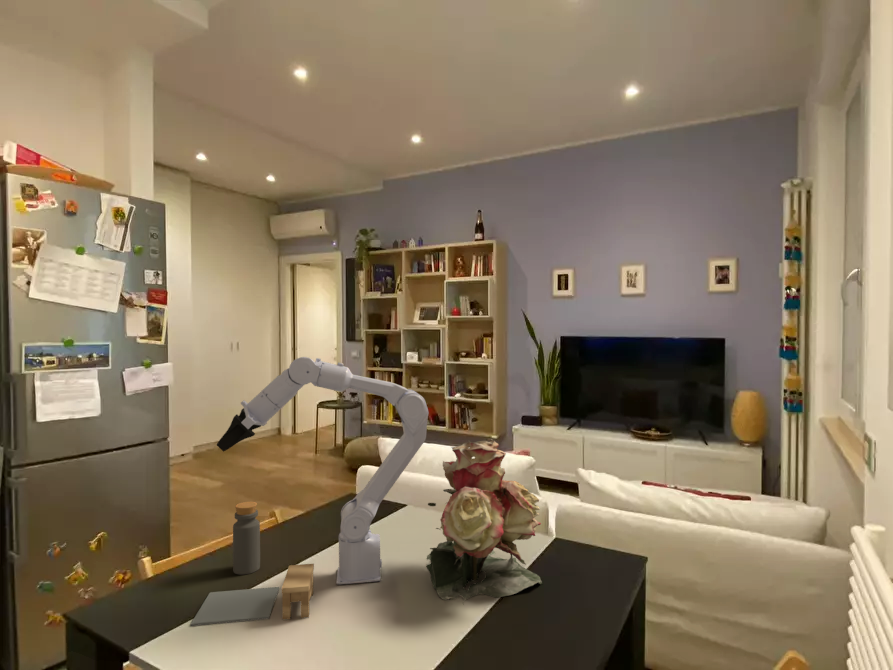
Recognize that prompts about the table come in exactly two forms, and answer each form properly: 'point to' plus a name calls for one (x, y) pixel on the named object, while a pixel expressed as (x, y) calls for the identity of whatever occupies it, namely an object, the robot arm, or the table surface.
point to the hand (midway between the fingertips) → (224, 443)
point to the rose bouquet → (482, 526)
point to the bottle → (246, 539)
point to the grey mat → (236, 606)
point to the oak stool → (297, 589)
